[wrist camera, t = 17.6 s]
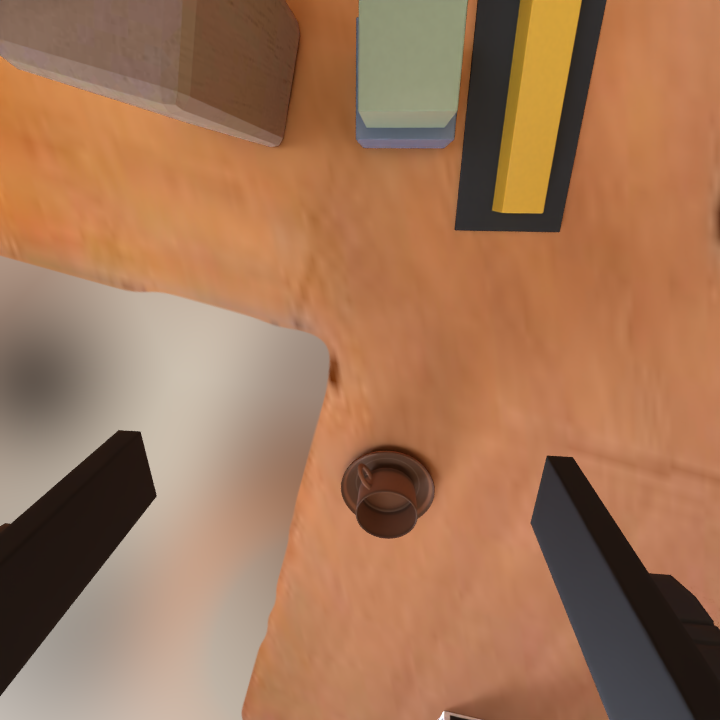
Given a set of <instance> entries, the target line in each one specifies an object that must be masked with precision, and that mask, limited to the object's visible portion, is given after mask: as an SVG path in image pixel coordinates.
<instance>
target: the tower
mask: <svg viewBox="0 0 720 720" xmlns="http://www.w3.org/2000/svg"><path fill="white" fill-rule="evenodd" d="M467 5H468V0H359V17H357V18H356V140H357V141H358V142H359V144H360V145H361V146H362V147H363V148H445V147H446V146H447V145H448V144H449V143H451V142H452V141H453V140H454V137H455V126H456V116H457V111H458V102H459V92H460V81H461V70H462V59H463V48H464V38H465V27H466V16H467Z"/></svg>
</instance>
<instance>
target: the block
mask: <svg viewBox="0 0 720 720" xmlns="http://www.w3.org/2000/svg"><path fill="white" fill-rule="evenodd" d="M299 36H300V32H299V25H298V22H297V20H296V18H295V16H294V15H293V13H292V11H291V10H290V8H289V6H288V5H287V3H286V1H285V0H0V56H1V57H3V58H4V59H6V60H7V61H8V62H9V63H11V64H12V65H13V66H15V67H16V68H17V69H20V70H23V71H26V72H29V73H32V74H36V75H39V76H42V77H45V78H48V79H51V80H54V81H58V82H61V83H64V84H67V85H70V86H73V87H76V88H80V89H83V90H86V91H89V92H92V93H95V94H98V95H102V96H105V97H108V98H111V99H114V100H117V101H120V102H123V103H127V104H130V105H133V106H136V107H139V108H142V109H145V110H149V111H152V112H155V113H158V114H161V115H164V116H167V117H171V118H174V119H177V120H180V121H183V122H186V123H189V124H193V125H196V126H200V127H203V128H207V129H210V130H214V131H217V132H220V133H224V134H227V135H231V136H234V137H238V138H241V139H244V140H248V141H251V142H255V143H258V144H262V145H265V146H268V147H275V146H279V145H280V143H281V141H282V140H283V136H284V130H285V124H286V117H287V111H288V105H289V99H290V92H291V86H292V80H293V74H294V67H295V61H296V55H297V49H298V42H299Z"/></svg>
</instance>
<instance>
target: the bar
mask: <svg viewBox="0 0 720 720" xmlns="http://www.w3.org/2000/svg"><path fill="white" fill-rule="evenodd" d="M581 2H582V0H520V6H519V13H518V21H517V28H516V36H515V43H514V51H513V58H512V66H511V73H510V81H509V88H508V95H507V103H506V110H505V118H504V125H503V133H502V140H501V148H500V155H499V163H498V170H497V178H496V185H495V193H494V200H493V207H492V210H493V211H497V212H501V213H543V210H544V205H545V200H546V194H547V189H548V183H549V178H550V172H551V167H552V161H553V156H554V150H555V145H556V139H557V134H558V128H559V123H560V117H561V112H562V106H563V101H564V95H565V90H566V85H567V79H568V74H569V68H570V63H571V57H572V52H573V46H574V41H575V35H576V30H577V24H578V19H579V13H580V8H581Z"/></svg>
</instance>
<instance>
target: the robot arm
mask: <svg viewBox="0 0 720 720" xmlns="http://www.w3.org/2000/svg"><path fill="white" fill-rule="evenodd" d="M155 498H156V492H155V487H154V483H153V480H152V475H151V471H150V468H149V464H148V460H147V456H146V452H145V448H144V444H143V440H142V436H141V432H138V431H122V430H118V431H117V432H116V433H115V434H114V435H113V436H112V437H110V438H109V439H108V440H107V441H106V442H105V443H103V444H102V445H101V446H100V447H99V448H98V449H97V450H95V451H94V452H93V453H92V454H91V455H90V456H88V457H87V458H86V459H85V460H84V461H83V462H82V463H80V464H79V465H78V466H77V467H76V468H75V469H73V470H72V471H71V472H70V473H69V474H68V475H67V476H65V477H64V478H63V479H62V480H61V481H60V482H58V483H57V484H56V485H55V486H54V487H53V488H52V489H51V490H49V491H48V492H47V493H46V494H45V495H44V496H42V497H41V498H40V499H39V500H38V501H37V502H35V503H34V504H33V505H32V506H31V507H30V508H29V509H27V510H26V511H25V512H24V513H23V514H22V515H20V516H19V517H18V518H17V519H16V520H15V521H14V522H13V523H11V524H7V523H5V524H3V525H1V526H0V696H1V694H2V693H3V692H4V691H5V689H6V688H7V687H8V685H9V684H10V683H11V682H12V680H13V679H14V678H15V677H16V675H17V674H18V673H19V672H20V670H21V669H22V668H23V666H24V665H25V664H26V663H27V661H28V660H29V659H30V657H31V656H32V655H33V654H34V652H35V651H36V650H37V648H38V647H39V646H40V645H41V643H42V642H43V641H44V640H45V638H46V637H47V636H48V634H49V633H50V632H51V631H52V629H53V628H54V627H55V625H56V624H57V623H58V621H59V620H60V619H61V618H62V617H63V615H64V614H65V612H66V611H67V610H68V609H69V608H70V606H71V605H72V604H73V602H74V601H75V600H76V599H77V597H78V596H79V595H80V594H81V592H82V591H83V590H84V588H85V587H86V586H87V584H88V583H89V582H90V581H91V579H92V578H93V577H94V576H95V574H96V573H97V572H98V571H99V569H100V568H101V567H102V565H103V564H104V563H105V561H106V560H107V559H108V558H109V556H110V555H111V554H112V553H113V551H114V550H115V549H116V547H117V546H118V545H119V544H120V542H121V541H122V540H123V539H124V537H125V536H126V535H127V533H128V532H129V531H130V530H131V528H132V527H133V526H134V524H135V523H136V522H137V521H138V519H139V518H140V517H141V515H142V514H143V513H144V512H145V510H146V509H147V508H148V507H149V505H150V504H151V503H152V501H153V500H154V499H155ZM531 525H532V528H533V530H534V533H535V535H536V538H537V540H538V543H539V545H540V548H541V550H542V553H543V555H544V558H545V560H546V563H547V565H548V568H549V570H550V573H551V575H552V578H553V580H554V583H555V585H556V588H557V590H558V593H559V595H560V598H561V600H562V603H563V605H564V607H565V610H566V612H567V615H568V617H569V620H570V622H571V625H572V627H573V630H574V632H575V635H576V637H577V640H578V642H579V645H580V647H581V650H582V652H583V655H584V657H585V660H586V662H587V665H588V667H589V670H590V672H591V675H592V677H593V680H594V682H595V685H596V687H597V690H598V692H599V695H600V697H601V700H602V702H603V705H604V707H605V710H606V712H607V715H608V717H609V720H720V630H719V628H718V627H717V626H714V623H713V622H714V621H713V620H712V619H711V617H710V616H709V615H708V613H707V612H706V610H705V609H704V608H703V606H702V605H701V604H700V602H699V601H698V600H697V598H696V597H695V596H694V595H693V594H692V593H691V592H690V591H688V590H687V589H686V588H685V587H684V586H683V585H682V584H680V583H679V582H678V581H677V580H676V579H675V578H674V577H672V576H671V575H664V574H651V573H648V571H647V570H646V568H645V567H644V565H643V564H642V562H641V561H640V559H639V558H638V556H637V555H636V553H635V552H634V550H633V548H632V547H631V545H630V544H629V542H628V541H627V539H626V538H625V536H624V535H623V533H622V532H621V530H620V529H619V527H618V526H617V524H616V523H615V521H614V519H613V518H612V516H611V515H610V513H609V512H608V510H607V509H606V507H605V506H604V504H603V503H602V501H601V500H600V498H599V497H598V495H597V494H596V492H595V490H594V489H593V487H592V486H591V484H590V483H589V481H588V480H587V478H586V477H585V475H584V474H583V472H582V471H581V469H580V468H579V466H578V465H577V463H576V461H575V460H574V458H573V457H561V456H547V458H546V462H545V466H544V470H543V474H542V478H541V482H540V486H539V491H538V495H537V499H536V503H535V507H534V511H533V515H532V520H531Z"/></svg>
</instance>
